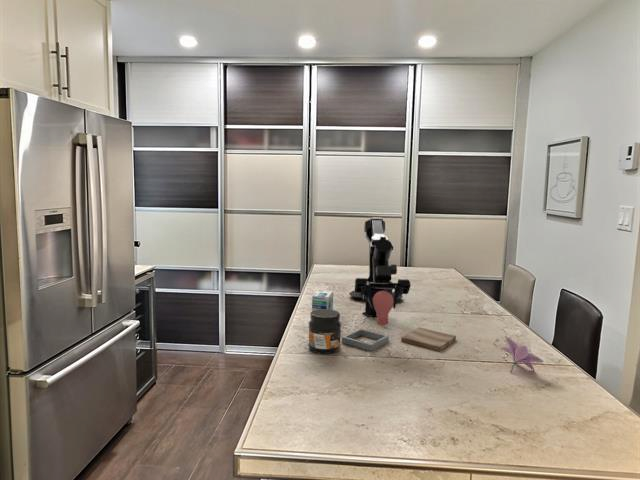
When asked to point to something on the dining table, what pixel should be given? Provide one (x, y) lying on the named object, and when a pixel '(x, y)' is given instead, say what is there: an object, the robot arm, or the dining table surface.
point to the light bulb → (382, 306)
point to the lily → (520, 354)
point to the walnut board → (428, 339)
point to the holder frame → (350, 341)
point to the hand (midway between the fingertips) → (383, 307)
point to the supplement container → (324, 331)
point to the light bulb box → (322, 300)
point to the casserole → (362, 295)
